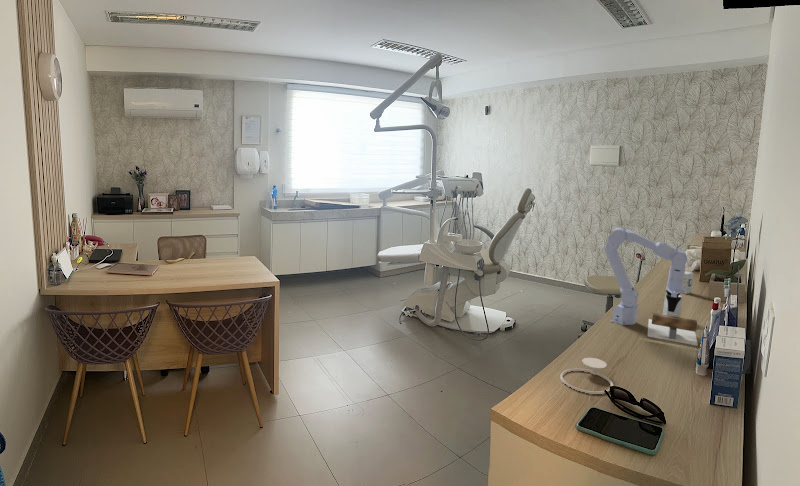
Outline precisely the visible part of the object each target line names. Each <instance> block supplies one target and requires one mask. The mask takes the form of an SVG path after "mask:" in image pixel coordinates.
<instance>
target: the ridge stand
mask: <svg viewBox="0 0 800 486" xmlns="http://www.w3.org/2000/svg"><path fill="white" fill-rule="evenodd" d="M647 337H650V338H655V339H658V340H657V341H658V342H659V341H660V340H663V341H662V342H664V343H665V341H670V342H672V344H674V345H675V343H673V342H676V343H677V345H680V344H678V343H681V344H685V345H691V346H693V348H696V347H694V346H697V347H698V340H697V339H698V338H697V335H696V332H694V331H688V330H682V329H677V328H671V327H666V326H660V325H655V324H652V319H651V318H648V324H647ZM646 339H648V338H646ZM648 340H649V339H648ZM664 340H665V341H664ZM670 342H667V343H670ZM691 346H688V347H690V348H691Z"/></svg>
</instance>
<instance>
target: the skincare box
mask: <svg viewBox="0 0 800 486" xmlns="http://www.w3.org/2000/svg"><path fill="white" fill-rule="evenodd" d="M666 294H667V293H665V295H664V300H663V301H664V303H663V309H662V315H668V316H674V317H680V318H681V311H682V302H683V296H682V295H681V294H680V295H679V296H678V297H681V300H680V301H679V302H678V304H677V306H676V309H675V311H674V312H670V311H668V301H667V298H666Z"/></svg>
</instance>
